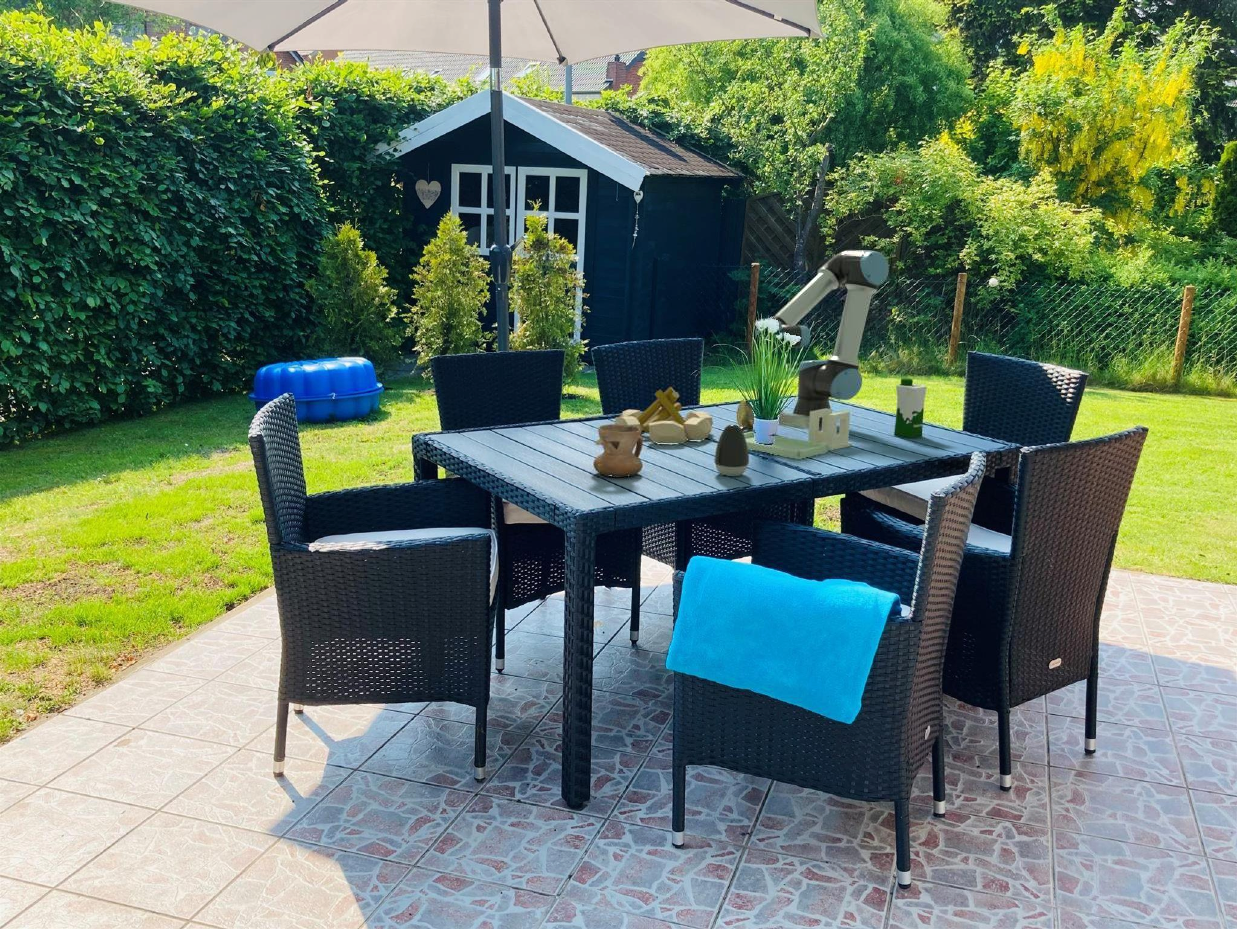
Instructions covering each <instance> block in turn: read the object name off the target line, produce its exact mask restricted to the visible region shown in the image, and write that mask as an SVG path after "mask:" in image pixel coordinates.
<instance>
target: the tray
mask: <svg viewBox="0 0 1237 929" xmlns="http://www.w3.org/2000/svg"><path fill="white" fill-rule="evenodd" d="M754 432H755V431H753V430H751V431H748V432H743V434H744V436H745V439H746V443H747V447H748V449H752V450H759V451H762V452H767V453H770V454H769V455H772V454H774V455H773V456H777V455H780V456H779V457H784V458H788V457H789V458H788V459H793V458H795V459H794V460H798V459H800V460H802V459H801V458H804V459H807V458H806V457H808V458H811V456H812V457H814V456H813V455H816V456H819V455H818V454H820V455H823V454H824V455H825V454H827V453H826V452H829V450H828V445H825V444H820V443H814V442H808V441H809V440H808V441H806V440H801V439H797V438H792V437H791V438H790V437H786V436H779V435H775V441H774V443H773V444H772V445H764V444H759V443H756V441H755V438H754ZM752 450H751V451H752ZM762 452H761V453H762ZM767 453H766V454H767Z"/></svg>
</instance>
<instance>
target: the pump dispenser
mask: <svg viewBox="0 0 1237 929" xmlns="http://www.w3.org/2000/svg"><path fill="white" fill-rule="evenodd" d="M746 429H747V426H746V425H745V426H743V427H741V428H740V426H739V425H737V424H733V423H732V424H728V425H726V426H725V427H724V429H723V430H722V432H721V434H720V436H719V438H718V441H717V444H716V449H715V453H714V462H713V463H714V464H715V467H716V470H717V472H718V473H719V474H720V473H721V474H720V475H722V476H724V475H727V476H726V477H729V476H736V477H739V475H740V476H741V475H743V474H745V472H747V469H748V466H749V464H750V455H749V450H748V447H747V443H746V439H745V436H744V434H743V433H744V431H747V430H746Z"/></svg>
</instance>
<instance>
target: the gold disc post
mask: <svg viewBox="0 0 1237 929" xmlns="http://www.w3.org/2000/svg"><path fill="white" fill-rule="evenodd" d="M736 410H737V411H736V422H737V424H738V425H737V426H739V427H740V428H741V427H743V426H745V425H746V426H747V429H746V430H745V431H753V430H754V429H753V424H754V413H753V411H752V408H751V406H750V405H749V403H748V402H746V401H745V397H743V399H742V400H740V403H739V404H738V406H737V409H736ZM779 412H780V417H779V425H778V426H782V427H788V428H794V429H799V430H809V421H810V416H804V415H798V414H793V413H790V412H784V411H779Z"/></svg>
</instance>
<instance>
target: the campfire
mask: <svg viewBox="0 0 1237 929" xmlns="http://www.w3.org/2000/svg"><path fill="white" fill-rule="evenodd" d="M654 396H655V397H656V398H657V399H656V400H655V401H654V402H652V404H650V406H649V407H647V408H646V409H645V410H644V411H643V412H642V411H641V410H638V409H626V410H624V411H622V412H621V414H620V415H619V416H617V417H616V416H615V419H614V423H613V424H626V425H634V426H637V427H639V428H640V434H639V436H641V434H642V432H645V433H647V432H648V433H649V439H651V441H653V442H654V441H655V442H657V443H680V444H683V443H685V442H687V439H688V440H703V439H705V438H708V437H709V435H710V433H711V432H712V431H713V429H712V426H713V424H714V422H713V417H712V416H711V415H710V414H709V413H707V412H705V411H703V410H701V411H700V410H699V411H698V410H697V411H689V412H688V413H687V414H685V418H683V416H682V415H681V414H680V413H679V412H680V411H681V410H682V408H683V406H682V404H681V403H680V402H677V399H679V397H680V394H679V393H678V392H677V391H675V390H674V389H673V387H672V386H669V387H668V388H667V389H666V390H665V391H664V392H663V390H662V389H659V390H657V391H656V392H655V393H654ZM686 438H687V439H686ZM705 440H706V439H705ZM703 441H704V440H703ZM655 442H654V443H655ZM682 442H683V443H682Z"/></svg>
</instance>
